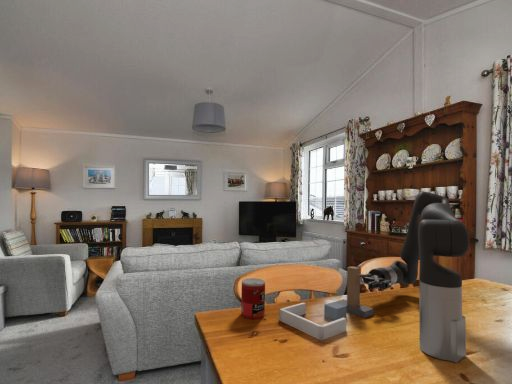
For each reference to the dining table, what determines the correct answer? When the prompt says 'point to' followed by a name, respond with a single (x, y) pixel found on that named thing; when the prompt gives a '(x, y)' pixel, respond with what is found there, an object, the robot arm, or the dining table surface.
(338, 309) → the ceramic block
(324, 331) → the box
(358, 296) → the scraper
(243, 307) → the canned food
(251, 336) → the dining table surface
